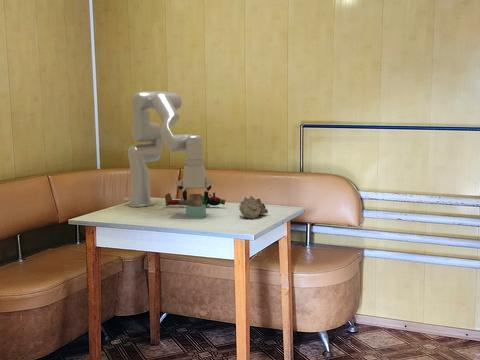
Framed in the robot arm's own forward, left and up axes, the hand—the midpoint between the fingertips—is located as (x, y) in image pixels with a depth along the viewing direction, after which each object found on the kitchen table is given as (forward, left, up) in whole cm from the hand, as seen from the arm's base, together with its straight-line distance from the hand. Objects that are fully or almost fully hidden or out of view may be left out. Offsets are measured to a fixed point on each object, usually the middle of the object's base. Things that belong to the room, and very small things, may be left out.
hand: (195, 200), depth 273 cm
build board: (-3, 0, -8) cm, 9 cm away
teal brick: (0, 0, -7) cm, 7 cm away
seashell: (+26, +6, -9) cm, 28 cm away
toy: (-7, +25, -9) cm, 28 cm away
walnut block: (0, 0, -2) cm, 3 cm away
